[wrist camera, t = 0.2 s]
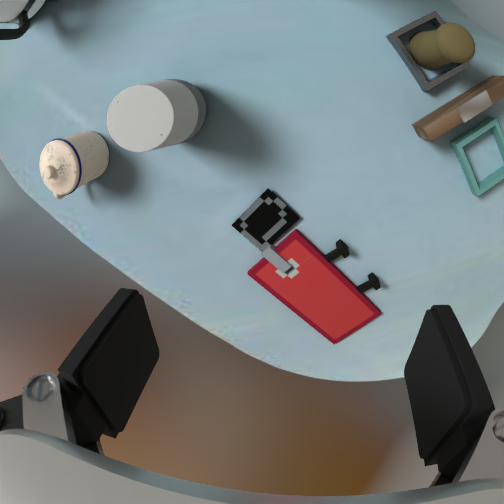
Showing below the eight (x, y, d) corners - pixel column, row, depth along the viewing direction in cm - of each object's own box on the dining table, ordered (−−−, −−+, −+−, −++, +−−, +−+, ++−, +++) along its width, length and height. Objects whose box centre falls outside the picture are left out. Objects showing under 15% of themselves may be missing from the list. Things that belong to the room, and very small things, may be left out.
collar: (450, 142, 37) (456, 144, 35) (490, 116, 33) (496, 118, 31) (471, 192, 39) (477, 196, 38) (509, 166, 36) (515, 170, 34)
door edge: (411, 123, 37) (425, 128, 32) (492, 75, 30) (510, 75, 25) (418, 136, 37) (432, 142, 33) (498, 87, 30) (517, 89, 26)
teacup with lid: (83, 120, 44) (37, 132, 34) (119, 146, 45) (75, 163, 35) (61, 174, 49) (20, 195, 39) (94, 200, 51) (54, 227, 41)
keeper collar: (385, 36, 31) (389, 34, 30) (430, 13, 28) (435, 10, 26) (422, 90, 34) (427, 90, 32) (464, 66, 30) (470, 65, 29)
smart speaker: (224, 103, 40) (190, 108, 28) (187, 152, 44) (145, 176, 32) (175, 68, 38) (126, 62, 26) (142, 117, 42) (88, 130, 30)
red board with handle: (277, 177, 44) (215, 241, 51) (275, 183, 42) (210, 249, 49) (396, 297, 51) (333, 339, 58) (399, 307, 49) (334, 349, 56)
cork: (442, 34, 29) (478, 22, 19) (447, 72, 32) (485, 69, 22) (406, 29, 30) (435, 13, 21) (411, 68, 33) (442, 61, 23)
